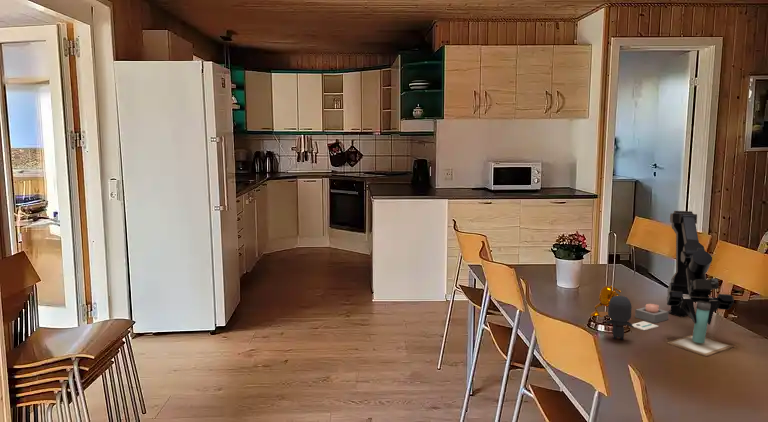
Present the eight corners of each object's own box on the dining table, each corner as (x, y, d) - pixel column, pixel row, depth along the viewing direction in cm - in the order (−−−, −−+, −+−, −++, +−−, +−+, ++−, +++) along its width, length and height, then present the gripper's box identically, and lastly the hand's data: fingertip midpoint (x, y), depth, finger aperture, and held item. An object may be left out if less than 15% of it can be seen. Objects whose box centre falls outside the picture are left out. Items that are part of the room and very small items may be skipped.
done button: (650, 311, 214) (650, 302, 213) (660, 315, 210) (661, 305, 210) (642, 313, 212) (643, 304, 211) (653, 317, 208) (653, 307, 207)
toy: (632, 337, 192) (634, 293, 190) (634, 345, 185) (636, 300, 183) (603, 334, 195) (605, 291, 193) (604, 342, 188) (606, 297, 186)
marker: (693, 337, 187) (699, 299, 185) (706, 341, 184) (712, 302, 182) (690, 340, 184) (695, 302, 182) (703, 344, 182) (709, 305, 180)
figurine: (622, 321, 208) (623, 289, 206) (590, 319, 211) (592, 287, 209) (619, 314, 216) (621, 283, 214) (589, 312, 219) (590, 281, 217)
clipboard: (694, 335, 193) (694, 333, 193) (733, 347, 182) (733, 345, 182) (666, 343, 186) (666, 342, 186) (706, 356, 175) (706, 355, 175)
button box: (648, 313, 216) (649, 306, 216) (668, 319, 210) (668, 311, 209) (635, 317, 212) (635, 309, 212) (654, 323, 206) (654, 315, 205)
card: (643, 321, 207) (643, 320, 207) (658, 326, 202) (658, 325, 202) (629, 325, 203) (629, 324, 203) (644, 330, 198) (644, 329, 198)
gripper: (670, 266, 187) (674, 309, 178) (734, 270, 182) (742, 314, 173) (664, 283, 196) (668, 325, 187) (726, 287, 190) (733, 330, 181)
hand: (702, 323), depth 182 cm, fingers closed on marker, 4 cm apart
